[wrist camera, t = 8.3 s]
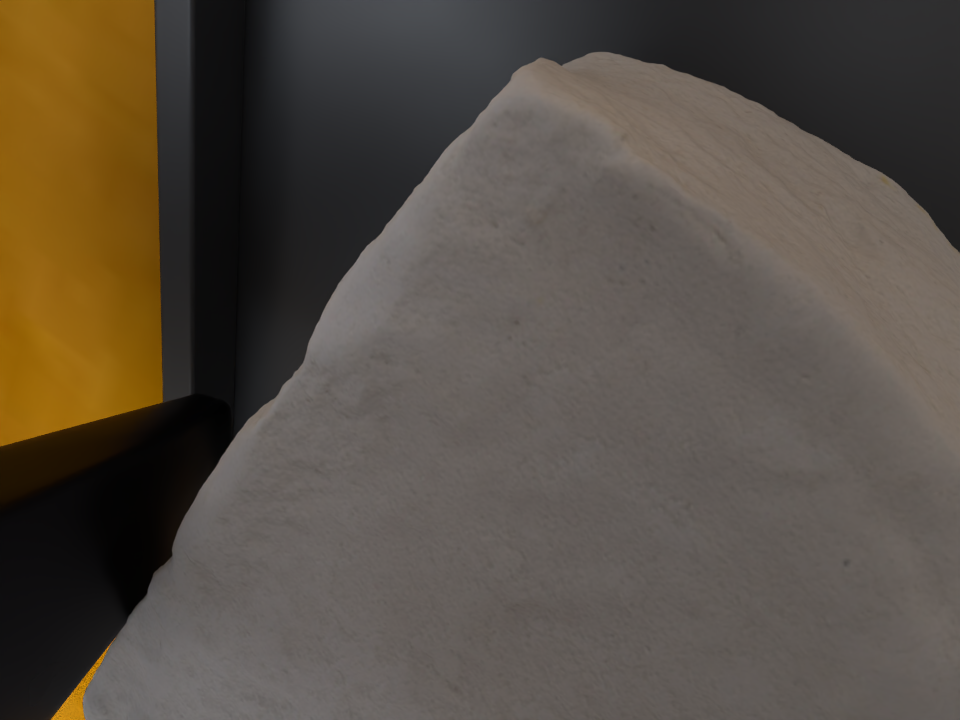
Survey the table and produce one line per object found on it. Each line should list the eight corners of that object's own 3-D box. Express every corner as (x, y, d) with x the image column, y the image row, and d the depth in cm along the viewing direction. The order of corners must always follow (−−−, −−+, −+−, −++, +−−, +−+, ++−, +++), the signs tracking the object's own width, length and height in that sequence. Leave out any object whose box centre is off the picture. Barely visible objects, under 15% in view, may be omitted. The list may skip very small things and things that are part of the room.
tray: (761, 828, 14) (771, 922, 13) (214, 649, 15) (167, 714, 14) (1309, -113, 7) (1468, -142, 6) (231, -289, 8) (144, -347, 7)
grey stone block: (659, 93, 10) (648, -211, 5) (1044, 415, 9) (1623, 512, 4) (222, 586, 12) (-168, 792, 6) (505, 904, 11) (333, 1482, 5)
